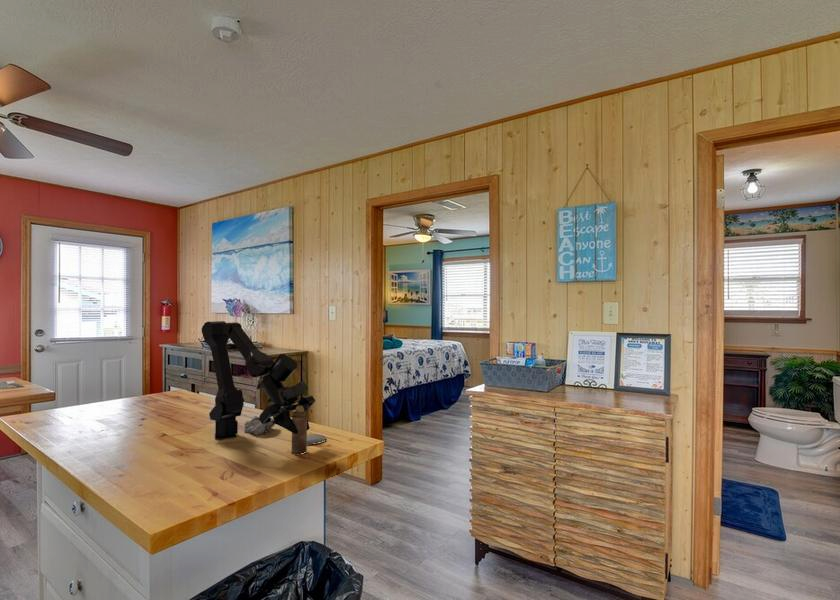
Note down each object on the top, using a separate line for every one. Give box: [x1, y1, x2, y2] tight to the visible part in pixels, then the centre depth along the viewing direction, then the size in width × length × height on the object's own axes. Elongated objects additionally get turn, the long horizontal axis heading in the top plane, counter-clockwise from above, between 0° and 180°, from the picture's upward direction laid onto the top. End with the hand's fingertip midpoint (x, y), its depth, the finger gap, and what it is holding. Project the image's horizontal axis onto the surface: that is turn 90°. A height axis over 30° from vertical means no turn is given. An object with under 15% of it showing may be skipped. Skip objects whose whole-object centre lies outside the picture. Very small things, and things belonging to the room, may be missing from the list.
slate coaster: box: [307, 433, 327, 444], centre depth 146 cm, size 10×10×1 cm
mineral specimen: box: [243, 415, 276, 435], centre depth 157 cm, size 6×11×12 cm
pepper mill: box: [291, 405, 308, 455], centre depth 134 cm, size 4×4×14 cm
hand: (302, 431), depth 133 cm, fingers closed on pepper mill, 4 cm apart
